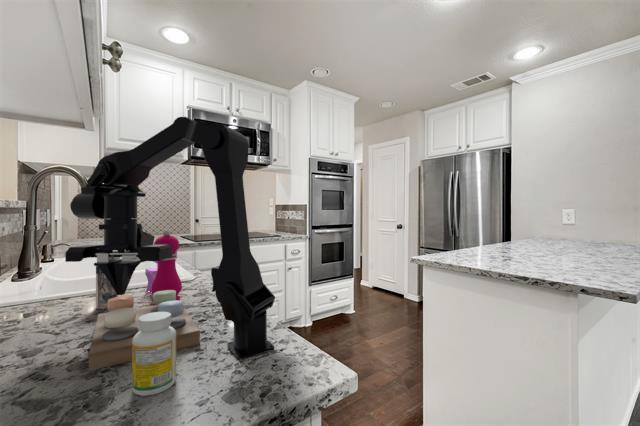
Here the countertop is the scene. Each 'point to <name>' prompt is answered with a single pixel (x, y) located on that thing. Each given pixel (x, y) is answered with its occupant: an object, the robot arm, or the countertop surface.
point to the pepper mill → (167, 267)
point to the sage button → (164, 296)
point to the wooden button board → (117, 341)
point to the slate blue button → (172, 307)
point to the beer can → (103, 290)
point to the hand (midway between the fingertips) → (121, 294)
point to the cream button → (120, 317)
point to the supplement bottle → (154, 354)
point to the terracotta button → (120, 302)
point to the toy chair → (151, 275)
